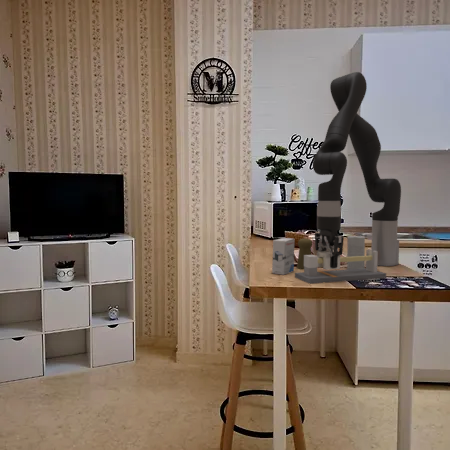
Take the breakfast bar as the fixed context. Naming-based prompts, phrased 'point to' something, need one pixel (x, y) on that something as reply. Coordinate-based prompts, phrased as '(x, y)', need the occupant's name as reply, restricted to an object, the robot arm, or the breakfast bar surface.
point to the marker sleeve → (326, 260)
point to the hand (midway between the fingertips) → (328, 265)
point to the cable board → (316, 276)
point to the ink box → (283, 256)
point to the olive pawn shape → (303, 251)
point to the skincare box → (355, 251)
